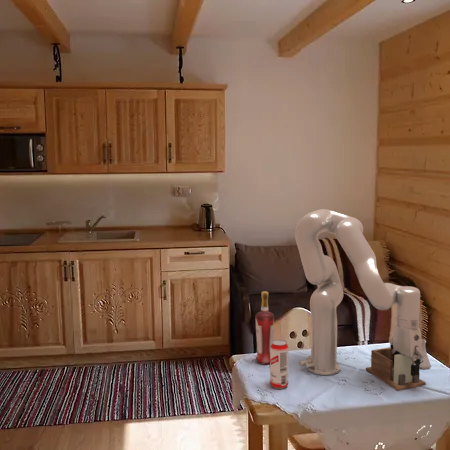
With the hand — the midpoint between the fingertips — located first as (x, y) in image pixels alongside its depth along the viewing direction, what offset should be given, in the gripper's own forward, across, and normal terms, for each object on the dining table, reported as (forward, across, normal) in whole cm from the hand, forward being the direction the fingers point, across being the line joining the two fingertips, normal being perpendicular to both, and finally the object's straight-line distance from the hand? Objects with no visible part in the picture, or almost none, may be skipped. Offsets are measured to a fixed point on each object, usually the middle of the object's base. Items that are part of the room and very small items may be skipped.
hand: (405, 369), depth 179 cm
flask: (+6, +10, -16) cm, 20 cm away
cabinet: (+5, +6, 0) cm, 8 cm away
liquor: (+5, +36, +38) cm, 52 cm away
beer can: (+5, +14, +42) cm, 45 cm away
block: (+4, 0, 0) cm, 4 cm away
